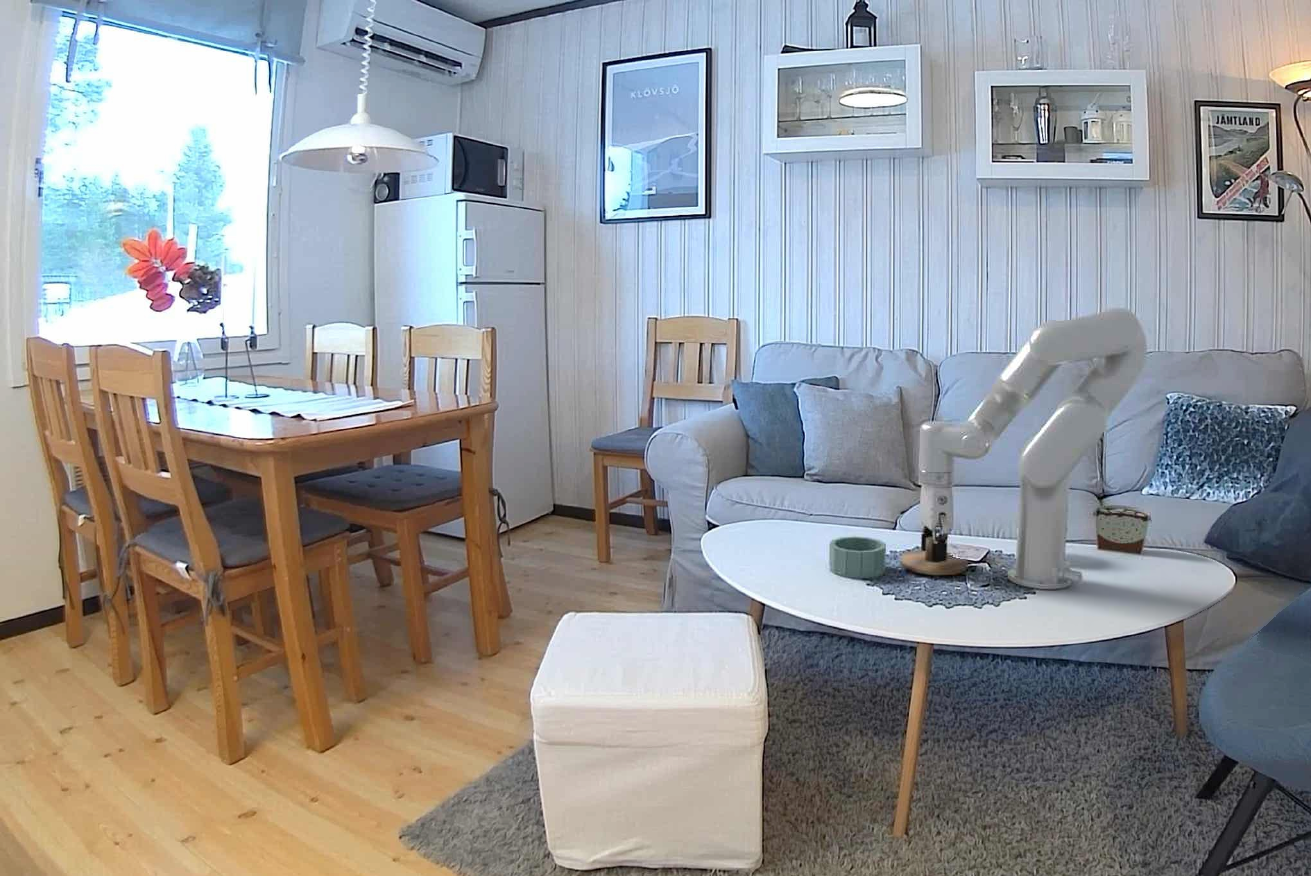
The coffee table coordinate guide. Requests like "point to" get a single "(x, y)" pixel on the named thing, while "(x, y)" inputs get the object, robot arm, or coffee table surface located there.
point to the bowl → (857, 557)
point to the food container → (1121, 528)
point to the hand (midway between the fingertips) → (933, 554)
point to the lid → (932, 562)
